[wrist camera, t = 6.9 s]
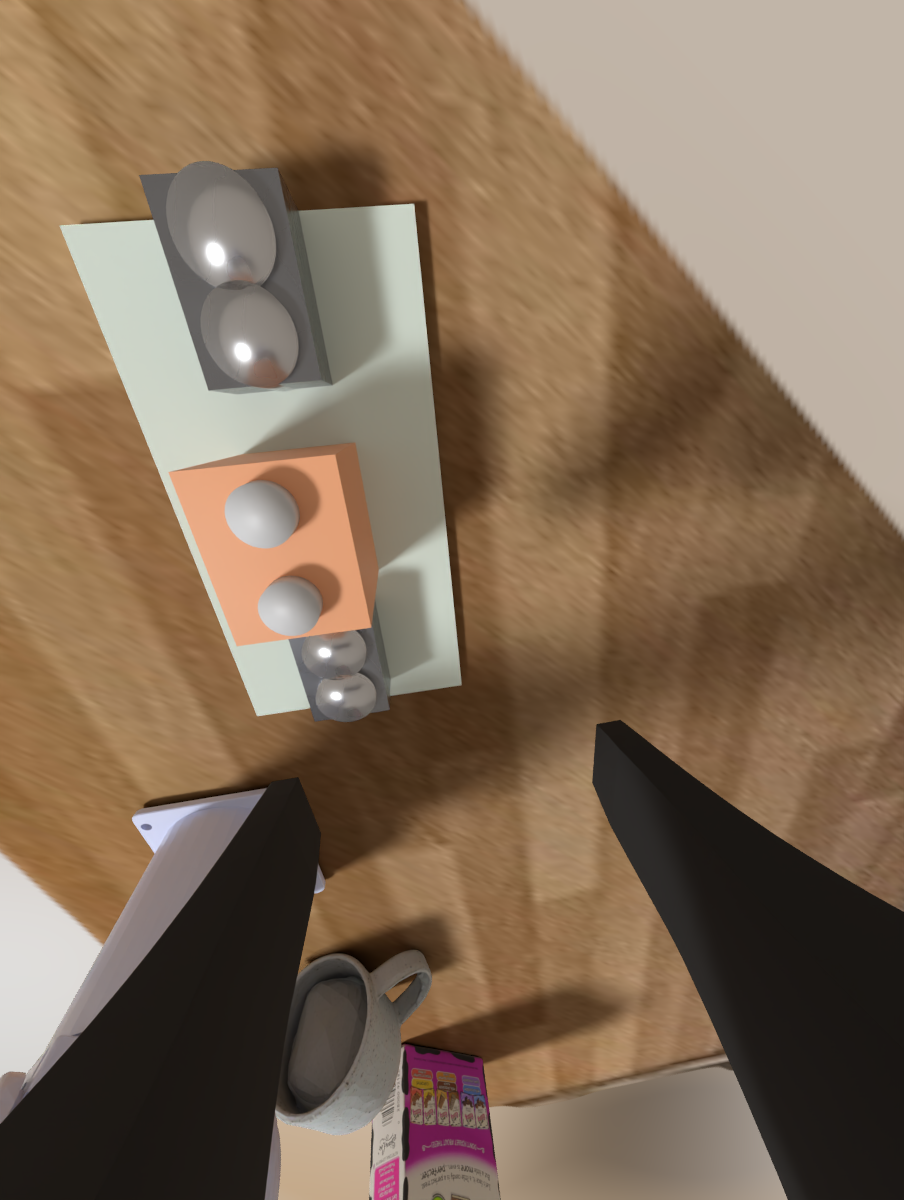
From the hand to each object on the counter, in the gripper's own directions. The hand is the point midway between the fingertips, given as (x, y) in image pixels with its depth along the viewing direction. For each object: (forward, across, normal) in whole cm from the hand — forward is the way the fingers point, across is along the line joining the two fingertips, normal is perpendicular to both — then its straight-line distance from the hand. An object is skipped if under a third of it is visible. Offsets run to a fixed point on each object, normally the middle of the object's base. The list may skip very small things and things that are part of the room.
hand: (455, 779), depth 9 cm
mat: (+9, +4, -5) cm, 11 cm away
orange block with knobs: (+9, +4, -5) cm, 11 cm away
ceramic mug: (+10, +10, +31) cm, 34 cm away
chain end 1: (+9, +4, -12) cm, 15 cm away
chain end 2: (+9, +4, +1) cm, 10 cm away
